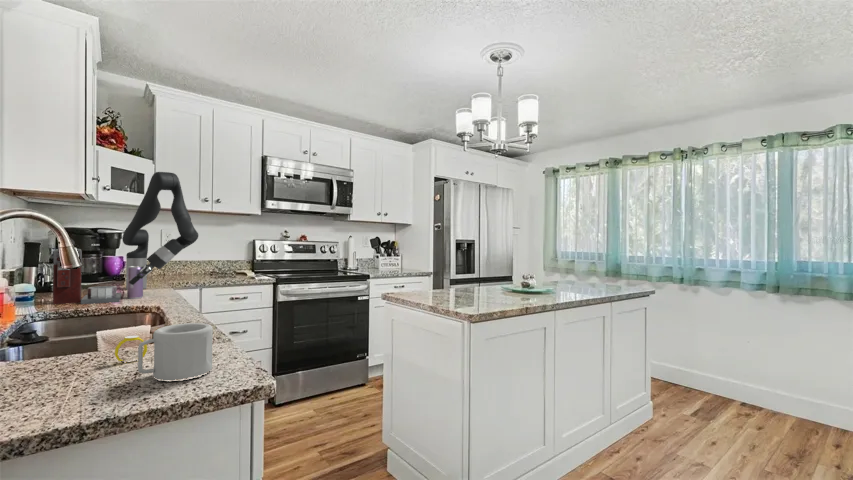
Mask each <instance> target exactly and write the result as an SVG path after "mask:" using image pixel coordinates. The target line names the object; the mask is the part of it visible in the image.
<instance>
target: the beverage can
mask: <svg viewBox="0 0 853 480" xmlns="http://www.w3.org/2000/svg"><path fill="white" fill-rule="evenodd" d="M142 268H143V266H129V267H128V278H127V289H126V290H127V292H126V293H127V295H126V296H127V299H129V300H135V299H136V300H138V299H142V298H143V297H144V289H143V278H142V279H140V280H138V281H137V282H136V283H135V284H134V285H131V284H130V283H129V281H130V280H132V279H133V278H134V277H135V276H136V275H137V274H138V273H139V271H140V270H141V269H142ZM140 275H142V274H140ZM142 276H143V275H142Z"/></svg>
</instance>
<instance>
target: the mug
mask: <svg viewBox="0 0 853 480" xmlns="http://www.w3.org/2000/svg"><path fill="white" fill-rule="evenodd" d="M213 329H214V328H213V326H212V325H211V324H208V323H203V322H188V323H187V322H186V323H177V324H171V325H170V324H169V325H166V326H162V327H159V328H158V329H155V330H154V332H153V335H152V337H153V338H150V339H146V340H144V341H143V342H141V341H140V343H139V344H138V348H137V349H138V350H137V358H138V361H137V371H138V373H140V374H151V373H152V375H153V376H154V377H155V378H157V379H163V380H175V379H183V378H188V377H194V376H198V375H201V374H204V373H206V372H208V371H210V370H211V369H212V370H213V337H214V336H213V334H214V333H213ZM152 343H153V345H154V346H153V351H154V352H153V358H154V359H153V368H150V369H143V362H144V361H143V358H144V357H143V350H144V345H145V344H146V345H148V344H152ZM212 370H211V371H212ZM211 371H210V372H211ZM153 376H152V377H153Z"/></svg>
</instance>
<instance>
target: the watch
mask: <svg viewBox="0 0 853 480" xmlns="http://www.w3.org/2000/svg"><path fill="white" fill-rule="evenodd" d="M130 341H131V342H133V341H140V343H141V342H143V341H145V340H144V339H142V338H141V337H140V335H128V336H125V337H124V339H122V340H121V341H119V342H118V343H117V345H116V347H115V349H114V356H115V358H116V360H117V361H118V362H120V361H124V360H123V359H121V358H120V356H119V349H120V348H121V346H122V345H123V344H125V343H126V342H130ZM147 352H148V344H145V345H143V358H144V357H145V356H146V354H147Z"/></svg>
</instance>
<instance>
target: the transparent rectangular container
mask: <svg viewBox="0 0 853 480" xmlns="http://www.w3.org/2000/svg"><path fill="white" fill-rule="evenodd" d="M117 287H118V286H117V285H101V286H99V285H97V286H91V287H87V294H85V295H84V296H82V297H81V303H80V305H91V304H92V305H93V304H94V303H95V304H103V303H104V304H108V303H109V302H111V303H120V301H121V298H122V292H117V289H118V288H117ZM95 304H94V305H95Z"/></svg>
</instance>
